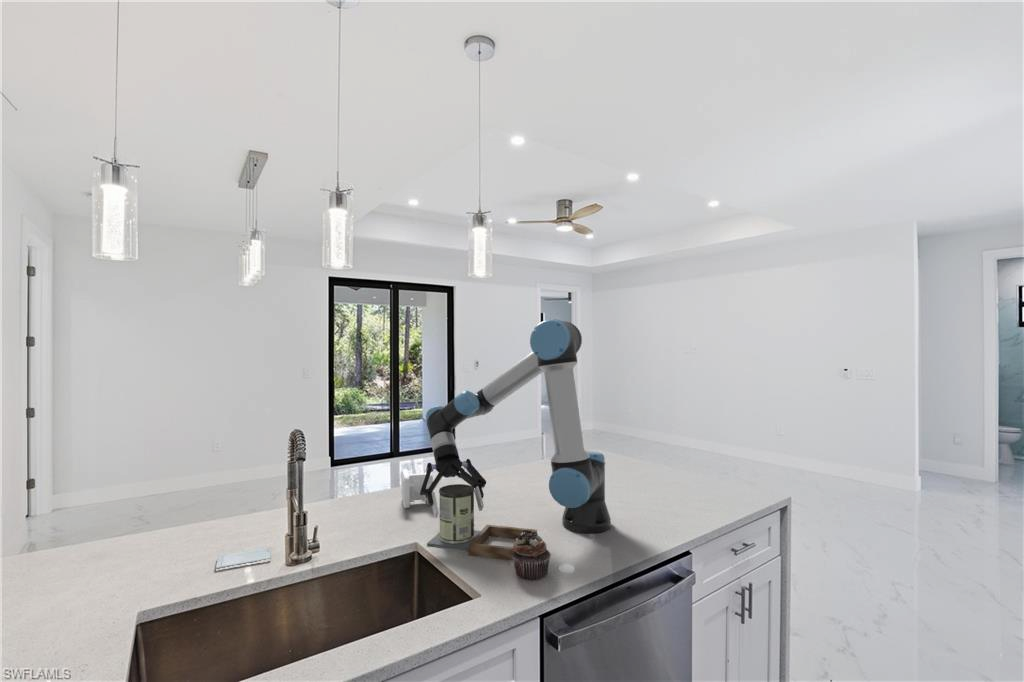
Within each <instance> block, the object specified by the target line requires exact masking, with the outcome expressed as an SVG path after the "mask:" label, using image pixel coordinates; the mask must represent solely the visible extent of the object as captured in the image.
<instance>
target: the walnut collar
mask: <svg viewBox="0 0 1024 682" xmlns="http://www.w3.org/2000/svg"><path fill="white" fill-rule="evenodd" d="M524 530H526V531H528V532H530V533H529V535H531V532H537V533H538V529H535V528H523V527H515V526H507V525H506V526H505V525H504V526H503V525H495V524H486V525H485V526H484V527H483V528H482V529H481V530H480V531H481V532H480V533H479V534H478V535H477V536H476V537H475V538H474V539H473V540H472V541H471V542H470V543H469V544H468V550H467V552H468V555H469V557H477V558H486V559H493V560H502V561H509V562H510V561H511V562H514V561H513V557H512V549H513V546H512V547H510V546H503V545H494V544H487V543H486V544H485V542H486V541H487V540H488V539H489V536H490V537H491V538H492V537H493V538H498V537H501V538H500V539H507V538H508V539H507V540H516V538H517V537H518V536H521V533H523V531H524Z"/></svg>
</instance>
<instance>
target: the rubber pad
mask: <svg viewBox="0 0 1024 682" xmlns="http://www.w3.org/2000/svg"><path fill="white" fill-rule="evenodd" d="M480 532H481V530H476V529H474V538H475V537H476V536H477V535H478V534H479V533H480ZM439 537H440V531H439V532H438V533H437V534H436V535H435V536H434V537H432V538H431V539H430V540H429V541H427V542H426V546H429V547H430V546H431V547H436V548H437V547H438V548H445V549H454V550H461V549H462V550H463V551H468V544H469V543H470V542H471V541H472V540H473V539H474V538H473V539H472V540H470V541H468V542H465V543H460V544H451V543H445V542H443V541H441V540H440V539H439ZM462 550H461V551H462Z"/></svg>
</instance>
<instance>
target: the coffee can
mask: <svg viewBox="0 0 1024 682" xmlns="http://www.w3.org/2000/svg"><path fill="white" fill-rule="evenodd" d="M474 490H475V488H474V487H472V486H471V485H470V484H463V483H461V484H460V483H458V484H448V485H444V486H442V487H440V488H439V489H438V493H439V532H440V537H439V539H440V540H441V541H443V542H445V543H451V544H460V543H465V542H468V541H470V540H472V539H473V538H474V530H475V493H474Z"/></svg>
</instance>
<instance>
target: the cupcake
mask: <svg viewBox="0 0 1024 682" xmlns="http://www.w3.org/2000/svg"><path fill="white" fill-rule="evenodd" d="M529 533H530V532H528V531H526V530H524V531H523V533H521V536H518V537H517V538H516V539H515V542H514V544H513V546H512V548H513V549H512V557H513V561H512V562H513V565H514V571H515V576H517V578H519V579H521V580H525V581H539V580H542V579H544V578H546V577H547V575H548V570H549V564H550V559H551V552H550V551H549V550H548V549H547V544H546V542H545V541H544V540H543V539H542V537H541V536H540V535H539V534H538V531H537V532H531V535H529Z"/></svg>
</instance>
